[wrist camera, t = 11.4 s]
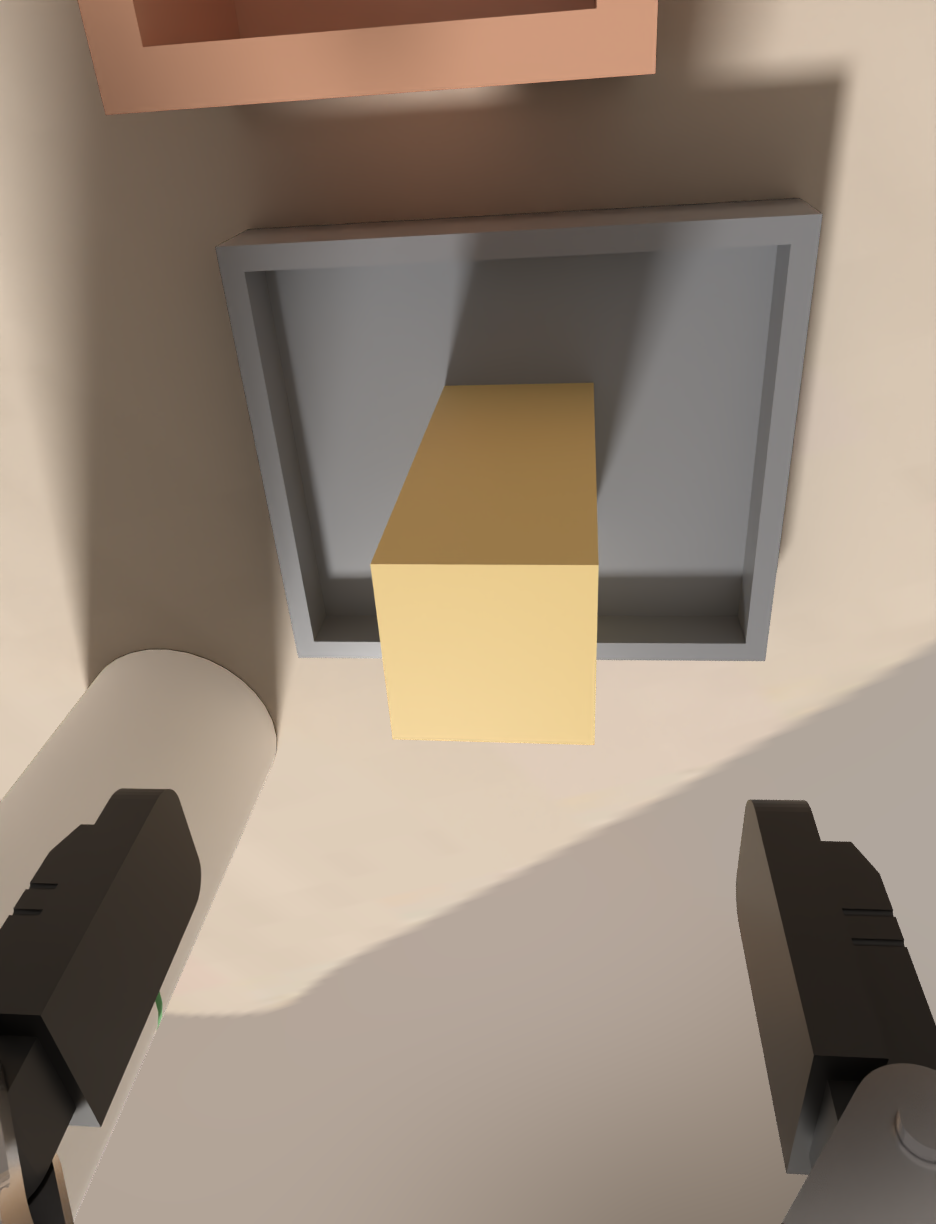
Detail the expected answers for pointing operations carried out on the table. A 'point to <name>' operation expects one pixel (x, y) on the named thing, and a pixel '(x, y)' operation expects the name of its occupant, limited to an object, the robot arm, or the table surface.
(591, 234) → the grey tray
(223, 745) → the cylindrical container
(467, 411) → the ochre block
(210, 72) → the terracotta storage bin
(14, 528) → the table surface
